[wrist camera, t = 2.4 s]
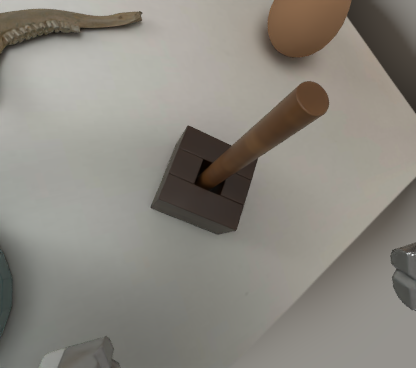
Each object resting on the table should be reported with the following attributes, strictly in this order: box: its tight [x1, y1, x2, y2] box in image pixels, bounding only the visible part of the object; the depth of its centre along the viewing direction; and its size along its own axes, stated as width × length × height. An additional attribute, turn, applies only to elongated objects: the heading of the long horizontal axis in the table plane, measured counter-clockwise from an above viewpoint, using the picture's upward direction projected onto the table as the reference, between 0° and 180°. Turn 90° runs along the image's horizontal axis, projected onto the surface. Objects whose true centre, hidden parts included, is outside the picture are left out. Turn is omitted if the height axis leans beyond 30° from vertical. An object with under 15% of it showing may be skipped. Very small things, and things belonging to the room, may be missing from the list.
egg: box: [268, 0, 351, 57], centre depth 36 cm, size 8×8×11 cm
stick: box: [194, 81, 329, 190], centre depth 24 cm, size 2×2×20 cm
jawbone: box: [0, 9, 142, 54], centre depth 31 cm, size 9×20×2 cm, turn 136°
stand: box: [151, 126, 258, 234], centre depth 31 cm, size 8×8×5 cm
